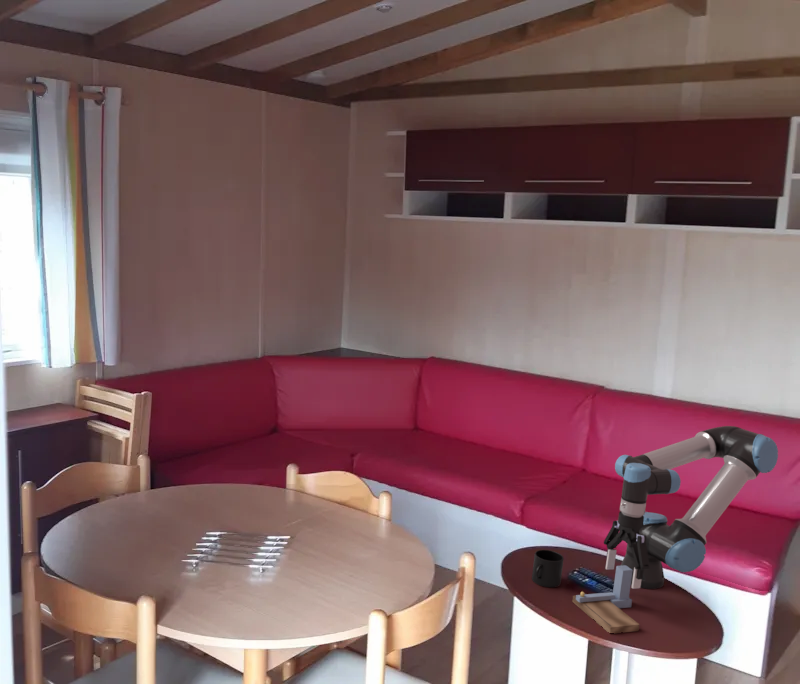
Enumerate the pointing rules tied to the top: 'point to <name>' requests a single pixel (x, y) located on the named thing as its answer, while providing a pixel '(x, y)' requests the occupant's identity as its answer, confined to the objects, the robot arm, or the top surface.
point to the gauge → (614, 590)
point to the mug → (547, 568)
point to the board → (608, 616)
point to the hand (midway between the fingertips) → (622, 578)
